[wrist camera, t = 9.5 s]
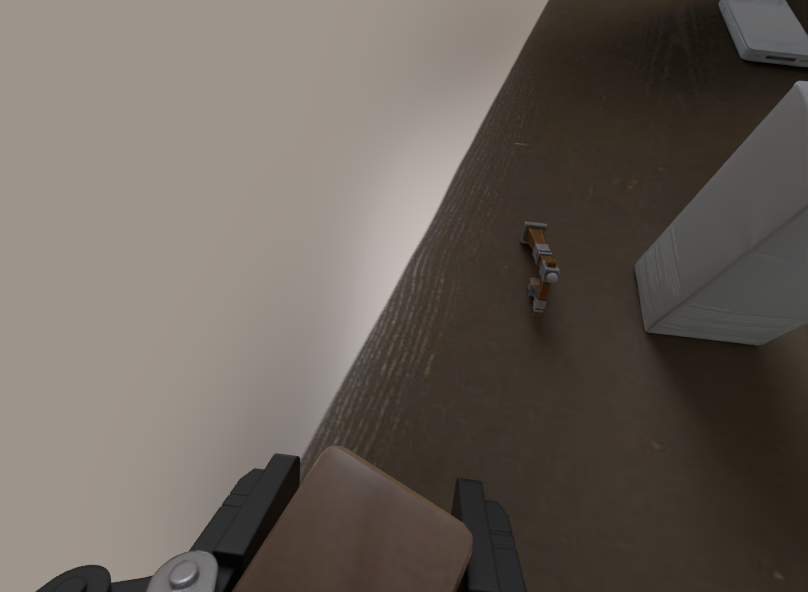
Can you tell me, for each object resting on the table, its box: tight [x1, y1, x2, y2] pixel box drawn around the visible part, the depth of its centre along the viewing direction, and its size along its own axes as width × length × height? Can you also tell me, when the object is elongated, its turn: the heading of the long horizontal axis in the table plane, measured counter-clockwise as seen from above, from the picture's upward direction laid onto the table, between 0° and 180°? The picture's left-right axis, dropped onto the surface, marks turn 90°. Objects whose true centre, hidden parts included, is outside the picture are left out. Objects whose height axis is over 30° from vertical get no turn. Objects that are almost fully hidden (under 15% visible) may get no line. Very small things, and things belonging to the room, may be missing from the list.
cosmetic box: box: [634, 81, 808, 345], centre depth 23 cm, size 8×7×16 cm
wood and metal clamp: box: [520, 222, 560, 316], centre depth 29 cm, size 2×8×4 cm, turn 172°
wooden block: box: [232, 445, 473, 592], centre depth 11 cm, size 4×4×8 cm
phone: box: [718, 0, 808, 67], centre depth 51 cm, size 8×16×1 cm, turn 167°
